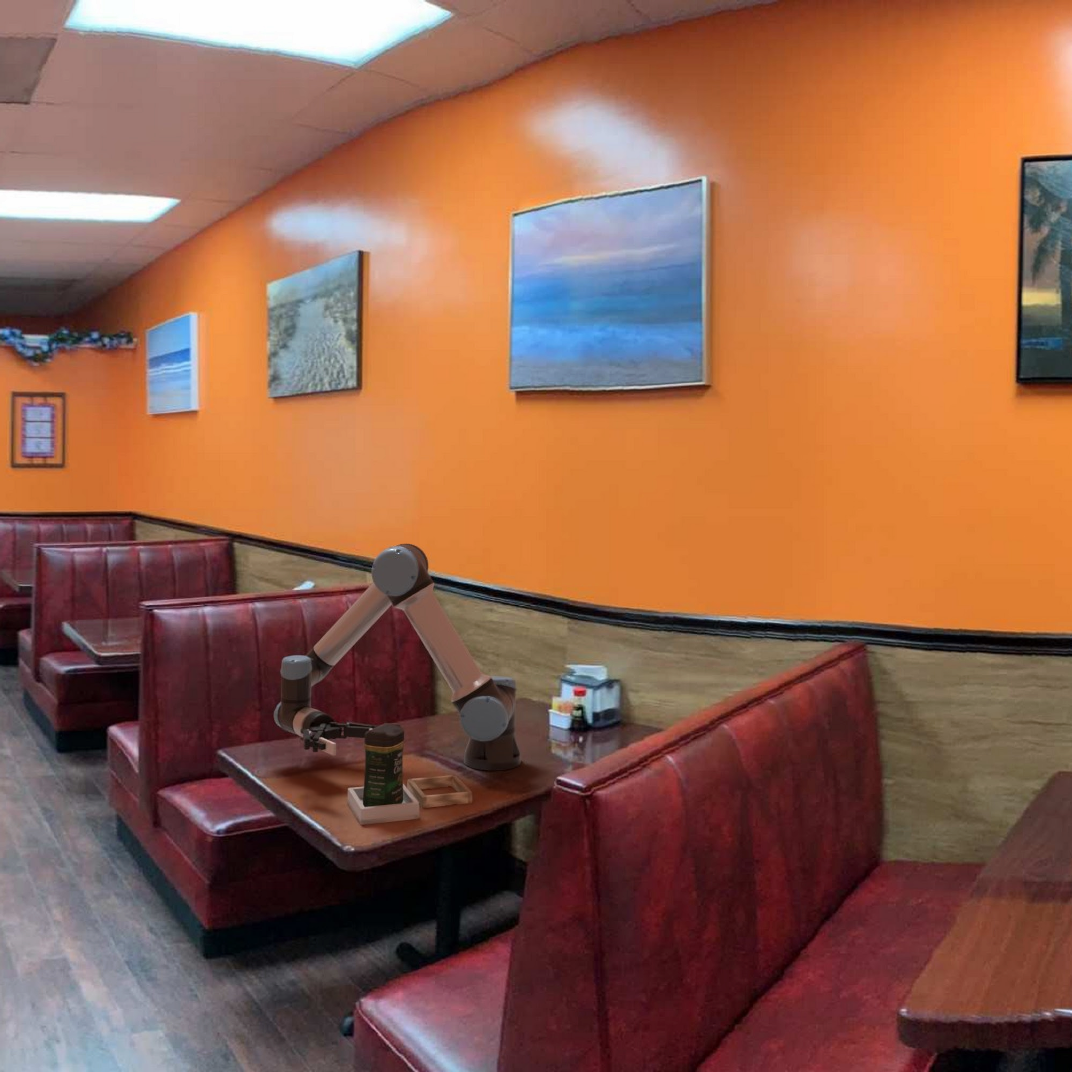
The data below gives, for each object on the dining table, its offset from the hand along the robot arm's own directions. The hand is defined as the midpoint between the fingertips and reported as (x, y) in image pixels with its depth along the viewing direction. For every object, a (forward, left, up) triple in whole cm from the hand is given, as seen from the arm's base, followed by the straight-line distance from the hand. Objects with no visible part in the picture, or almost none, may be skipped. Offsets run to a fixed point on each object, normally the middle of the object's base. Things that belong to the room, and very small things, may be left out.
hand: (360, 744), depth 237 cm
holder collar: (-18, +3, -13) cm, 23 cm away
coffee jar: (-4, +9, -12) cm, 16 cm away
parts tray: (-3, +9, -13) cm, 16 cm away
